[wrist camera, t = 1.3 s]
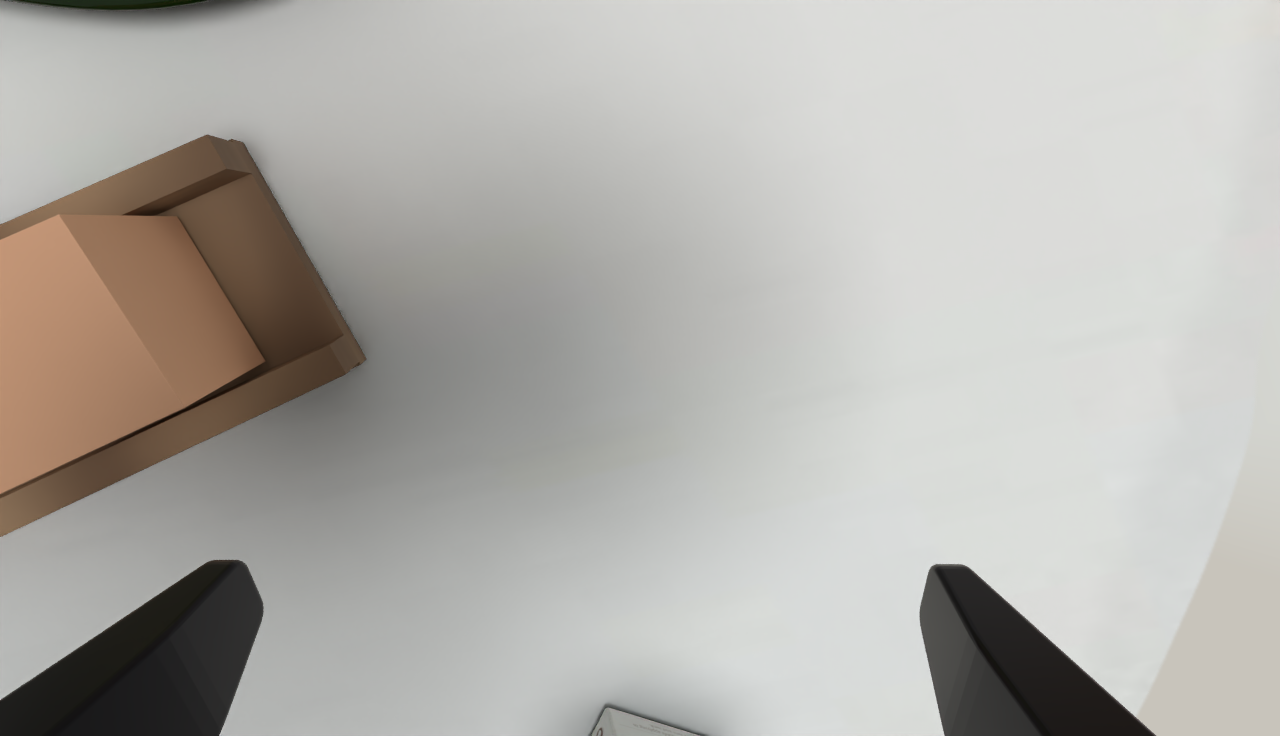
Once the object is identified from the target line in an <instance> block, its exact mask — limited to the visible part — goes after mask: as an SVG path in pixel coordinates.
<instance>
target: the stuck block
mask: <svg viewBox="0 0 1280 736" xmlns="http://www.w3.org/2000/svg"><path fill="white" fill-rule="evenodd" d="M263 362H265V359H264V358H263V356H262V355H261V353H260V351H259V350H258V348H257V346H256V345H255V343H254V341H253V340H252V338H251V337H250V335H249V333H248V332H247V330H246V328H245V327H244V325H243V323H242V322H241V320H240V319H239V317H238V315H237V314H236V312H235V310H234V309H233V307H232V305H231V304H230V302H229V301H228V299H227V297H226V296H225V294H224V292H223V291H222V289H221V287H220V286H219V284H218V282H217V281H216V279H215V278H214V276H213V274H212V273H211V271H210V269H209V268H208V266H207V264H206V263H205V261H204V260H203V258H202V256H201V255H200V253H199V251H198V250H197V248H196V246H195V245H194V243H193V242H192V240H191V238H190V237H189V235H188V233H187V232H186V230H185V228H184V227H183V225H182V224H181V222H180V220H179V219H178V217H177V216H125V215H67V214H58V215H56V216H54V217H51V218H49V219H47V220H45V221H42V222H40V223H38V224H36V225H33V226H31V227H29V228H26V229H24V230H22V231H20V232H17V233H15V234H13V235H10V236H8V237H6V238H4V239H1V240H0V494H1V493H3V492H5V491H7V490H9V489H12V488H14V487H16V486H18V485H20V484H22V483H24V482H27V481H29V480H31V479H33V478H35V477H37V476H39V475H42V474H44V473H46V472H48V471H50V470H52V469H54V468H57V467H59V466H61V465H63V464H65V463H67V462H69V461H72V460H74V459H76V458H78V457H80V456H82V455H84V454H87V453H89V452H91V451H93V450H95V449H97V448H99V447H102V446H104V445H106V444H108V443H110V442H112V441H114V440H117V439H119V438H121V437H123V436H125V435H127V434H129V433H132V432H134V431H136V430H138V429H140V428H142V427H144V426H147V425H149V424H151V423H153V422H155V421H157V420H159V419H162V418H164V417H166V416H168V415H170V414H172V413H175V412H177V411H179V410H181V409H183V408H185V407H187V406H189V405H190V404H192V403H194V402H196V401H197V400H199V399H201V398H203V397H204V396H206V395H208V394H209V393H211V392H213V391H215V390H216V389H218V388H220V387H222V386H223V385H225V384H227V383H229V382H230V381H232V380H234V379H236V378H237V377H239V376H241V375H242V374H244V373H246V372H248V371H249V370H251V369H253V368H255V367H256V366H258V365H260V364H262V363H263Z"/></svg>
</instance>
